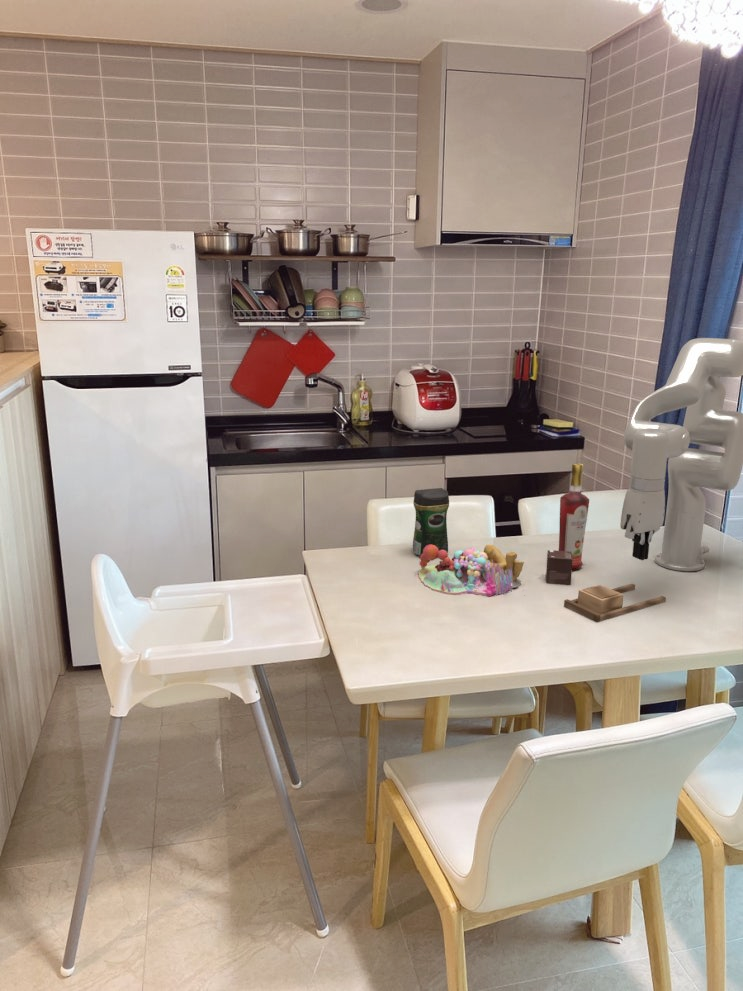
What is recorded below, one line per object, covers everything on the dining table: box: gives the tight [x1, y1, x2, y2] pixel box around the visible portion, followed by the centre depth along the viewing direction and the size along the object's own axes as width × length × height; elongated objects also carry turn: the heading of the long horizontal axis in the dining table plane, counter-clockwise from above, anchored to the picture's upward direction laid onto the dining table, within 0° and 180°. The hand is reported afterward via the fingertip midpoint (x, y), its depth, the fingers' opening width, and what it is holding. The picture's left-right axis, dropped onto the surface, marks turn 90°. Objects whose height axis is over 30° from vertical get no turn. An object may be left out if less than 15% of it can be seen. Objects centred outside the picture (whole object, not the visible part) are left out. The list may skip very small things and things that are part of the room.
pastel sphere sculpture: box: [417, 544, 525, 597], centre depth 193 cm, size 25×24×9 cm
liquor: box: [558, 462, 590, 571], centre depth 200 cm, size 7×7×28 cm
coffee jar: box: [412, 487, 450, 557], centre depth 210 cm, size 10×8×19 cm
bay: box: [563, 583, 667, 623], centre depth 179 cm, size 23×10×2 cm, turn 121°
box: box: [545, 549, 573, 586], centre depth 193 cm, size 6×6×7 cm
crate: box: [577, 584, 625, 614], centre depth 176 cm, size 7×7×4 cm
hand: (640, 557), depth 181 cm, fingers closed
